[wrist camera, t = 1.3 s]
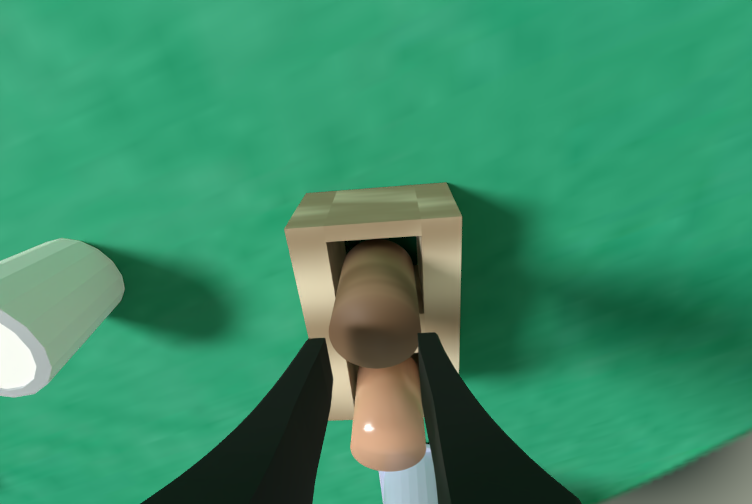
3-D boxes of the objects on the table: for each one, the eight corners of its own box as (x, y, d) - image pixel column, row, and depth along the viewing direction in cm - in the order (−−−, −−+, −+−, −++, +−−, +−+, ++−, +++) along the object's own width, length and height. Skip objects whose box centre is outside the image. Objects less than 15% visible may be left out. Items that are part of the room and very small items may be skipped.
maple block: (446, 356, 27) (457, 415, 22) (337, 361, 27) (327, 420, 23) (446, 182, 21) (462, 216, 16) (305, 193, 21) (284, 229, 17)
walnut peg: (415, 298, 19) (422, 366, 15) (347, 302, 19) (335, 370, 15) (412, 236, 18) (419, 293, 13) (337, 241, 18) (321, 298, 14)
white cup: (5, 231, 23) (-137, 295, 17) (110, 227, 23) (5, 291, 16) (55, 318, 26) (-49, 399, 20) (148, 316, 26) (72, 398, 20)
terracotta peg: (419, 392, 22) (427, 470, 18) (361, 395, 23) (355, 472, 18) (417, 348, 21) (425, 422, 17) (354, 350, 21) (346, 424, 17)
